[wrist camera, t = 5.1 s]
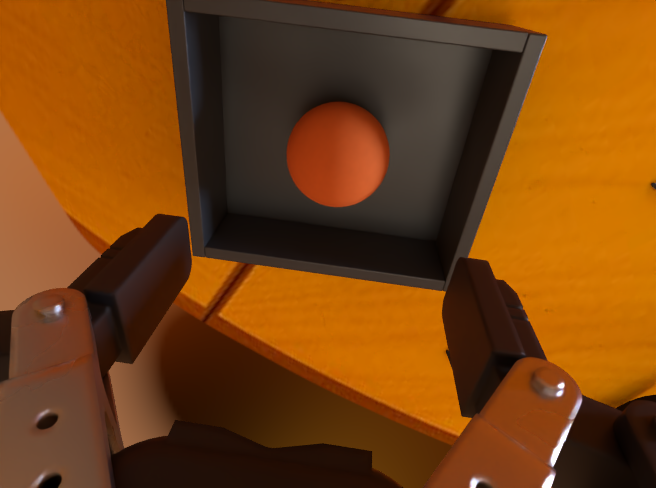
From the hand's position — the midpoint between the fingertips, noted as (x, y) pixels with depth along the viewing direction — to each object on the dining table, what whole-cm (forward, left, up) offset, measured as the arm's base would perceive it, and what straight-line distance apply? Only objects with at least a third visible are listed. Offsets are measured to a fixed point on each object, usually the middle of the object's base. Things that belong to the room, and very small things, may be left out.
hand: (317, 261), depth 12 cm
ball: (0, 0, -9) cm, 9 cm away
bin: (0, 0, -12) cm, 12 cm away
